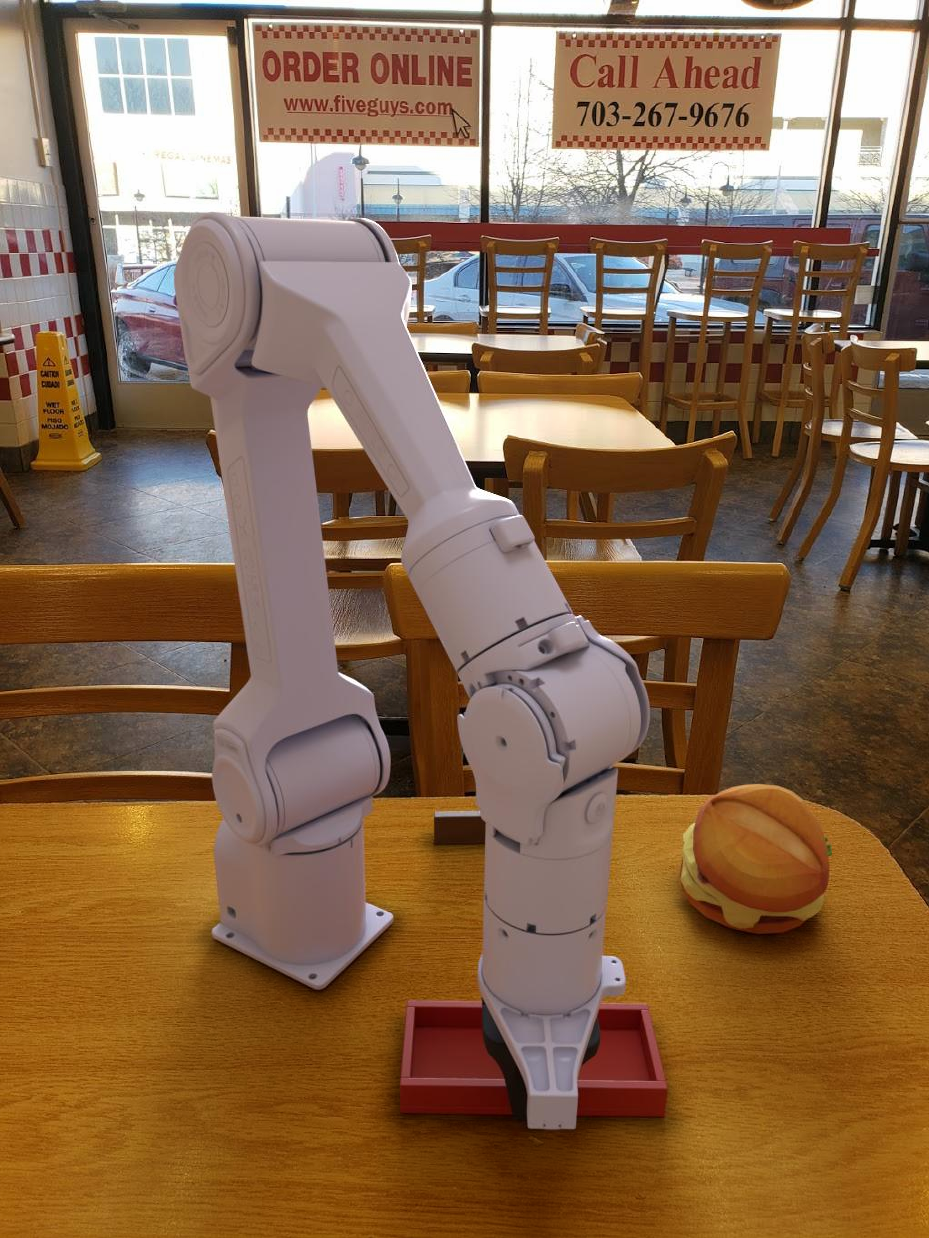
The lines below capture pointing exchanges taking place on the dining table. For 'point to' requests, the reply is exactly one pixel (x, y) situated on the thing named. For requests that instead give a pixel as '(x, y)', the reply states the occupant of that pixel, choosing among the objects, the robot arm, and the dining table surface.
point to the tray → (474, 1084)
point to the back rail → (459, 827)
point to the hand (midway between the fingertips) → (533, 1111)
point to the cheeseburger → (756, 860)
